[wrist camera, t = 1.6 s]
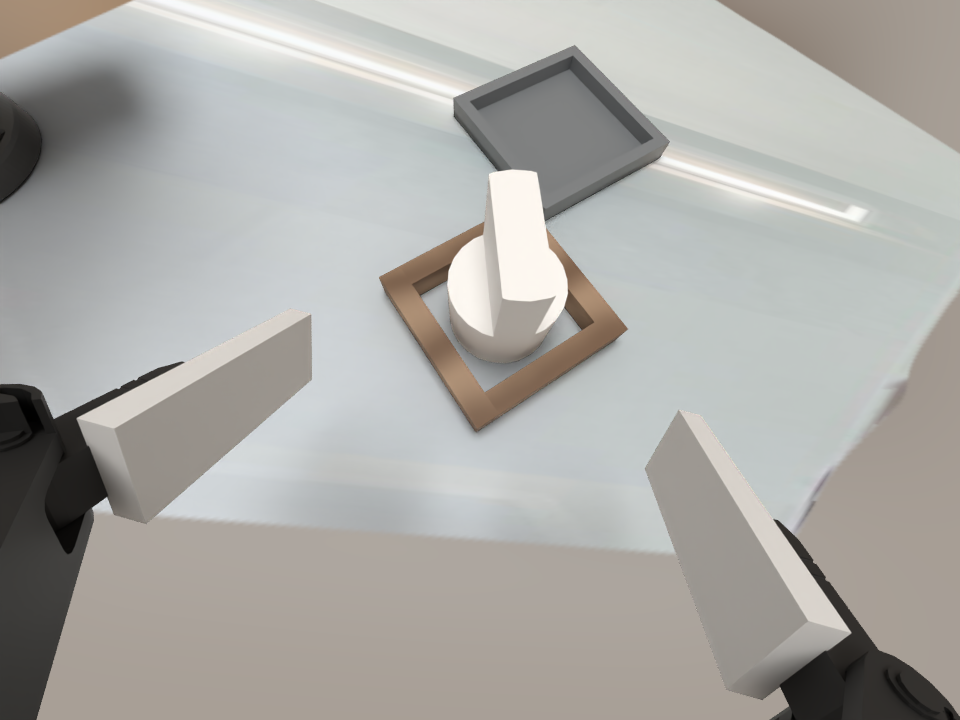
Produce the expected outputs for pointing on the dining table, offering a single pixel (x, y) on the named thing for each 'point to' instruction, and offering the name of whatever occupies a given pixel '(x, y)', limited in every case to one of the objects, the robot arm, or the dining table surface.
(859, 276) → the dining table surface
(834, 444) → the dining table surface
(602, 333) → the walnut collar
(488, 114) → the charcoal tray
